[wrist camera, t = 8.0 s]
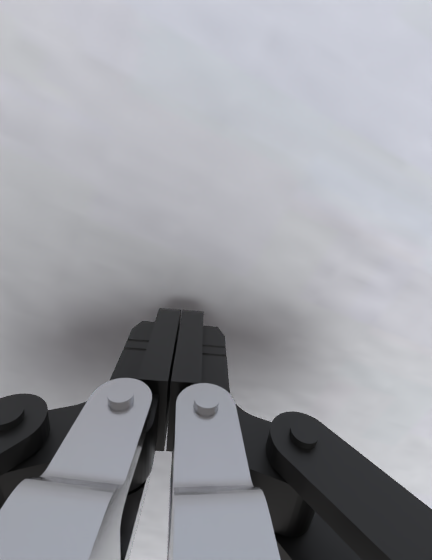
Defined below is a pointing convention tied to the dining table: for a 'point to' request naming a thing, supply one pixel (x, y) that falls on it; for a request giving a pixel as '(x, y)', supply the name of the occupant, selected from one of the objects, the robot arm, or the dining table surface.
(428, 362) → the dining table surface
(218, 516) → the robot arm
